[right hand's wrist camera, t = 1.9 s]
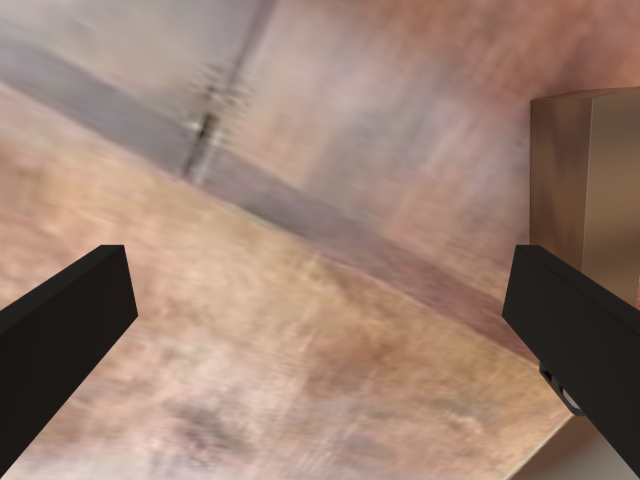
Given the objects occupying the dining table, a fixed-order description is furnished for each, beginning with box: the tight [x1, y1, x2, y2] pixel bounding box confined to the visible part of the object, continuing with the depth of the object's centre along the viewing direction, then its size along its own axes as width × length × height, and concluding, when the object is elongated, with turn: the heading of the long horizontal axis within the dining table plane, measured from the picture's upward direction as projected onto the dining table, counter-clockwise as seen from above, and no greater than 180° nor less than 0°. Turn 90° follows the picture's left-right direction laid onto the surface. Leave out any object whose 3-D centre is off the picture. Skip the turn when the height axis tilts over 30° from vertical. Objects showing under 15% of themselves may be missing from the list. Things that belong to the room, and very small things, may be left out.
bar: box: [530, 86, 640, 308], centre depth 37 cm, size 27×5×9 cm, turn 10°
